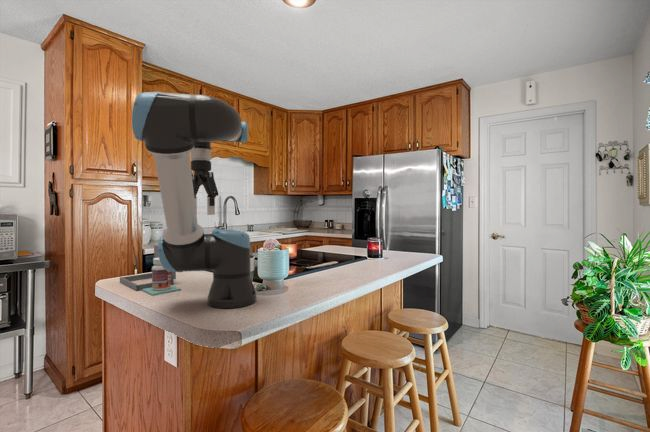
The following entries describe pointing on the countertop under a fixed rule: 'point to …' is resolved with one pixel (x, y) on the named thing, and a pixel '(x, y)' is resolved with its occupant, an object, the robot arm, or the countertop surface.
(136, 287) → the case
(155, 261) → the pill bottle
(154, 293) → the pad
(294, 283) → the countertop surface
